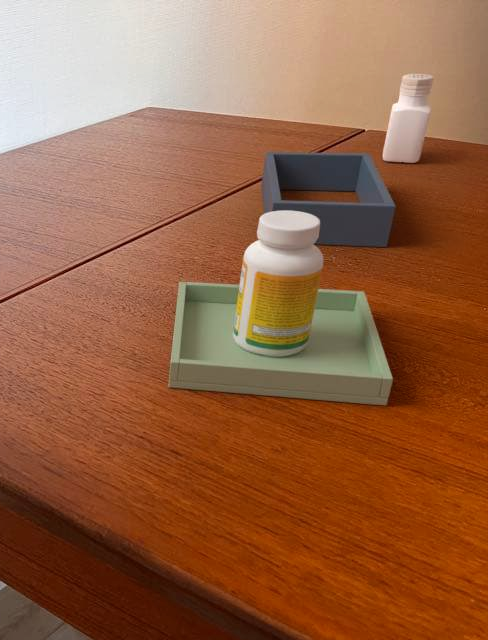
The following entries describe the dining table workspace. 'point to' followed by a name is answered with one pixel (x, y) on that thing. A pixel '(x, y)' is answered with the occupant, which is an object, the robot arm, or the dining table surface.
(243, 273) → the supplement bottle
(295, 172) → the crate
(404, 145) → the salt shaker
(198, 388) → the tray
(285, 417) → the dining table surface
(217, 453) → the dining table surface
